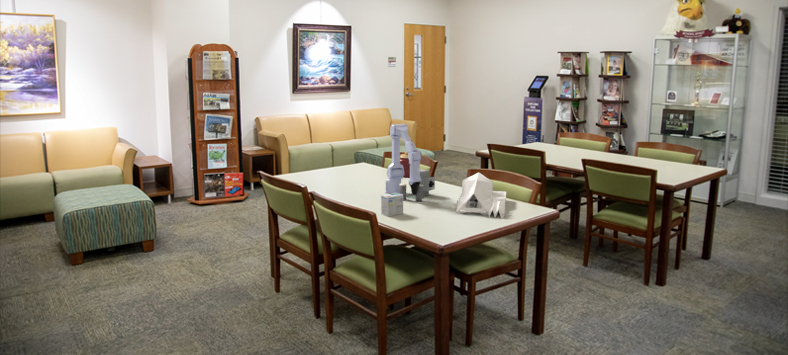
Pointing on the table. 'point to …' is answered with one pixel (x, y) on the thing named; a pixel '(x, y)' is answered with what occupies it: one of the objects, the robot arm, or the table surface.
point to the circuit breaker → (426, 182)
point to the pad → (411, 196)
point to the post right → (419, 193)
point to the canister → (405, 164)
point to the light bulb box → (392, 204)
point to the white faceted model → (481, 196)
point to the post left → (403, 190)
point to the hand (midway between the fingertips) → (414, 194)
